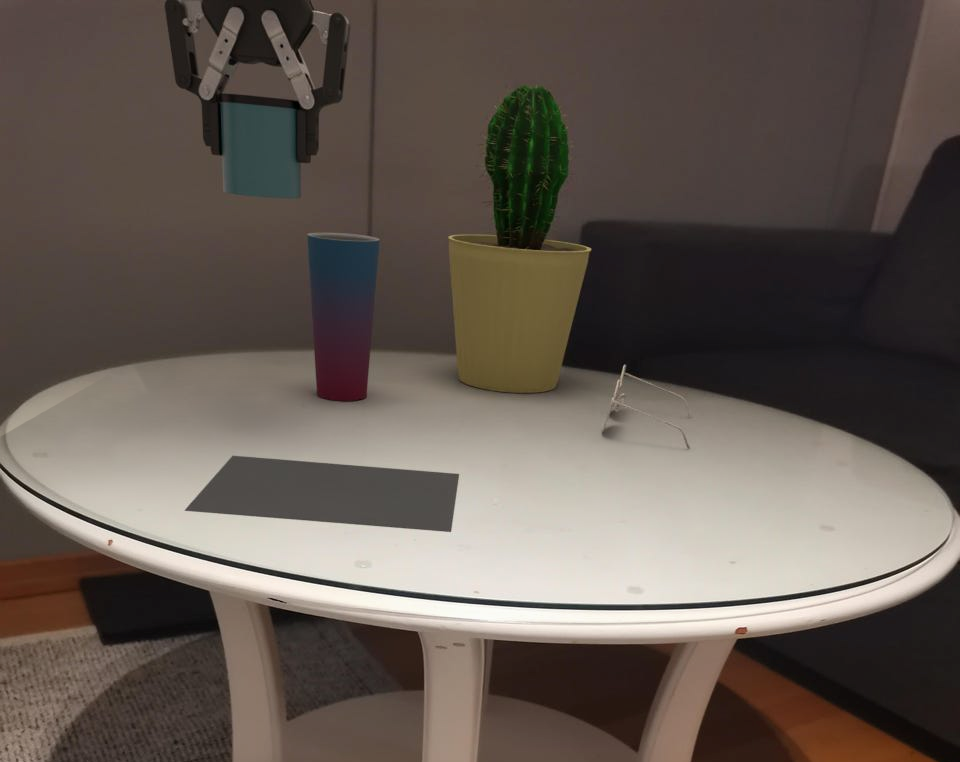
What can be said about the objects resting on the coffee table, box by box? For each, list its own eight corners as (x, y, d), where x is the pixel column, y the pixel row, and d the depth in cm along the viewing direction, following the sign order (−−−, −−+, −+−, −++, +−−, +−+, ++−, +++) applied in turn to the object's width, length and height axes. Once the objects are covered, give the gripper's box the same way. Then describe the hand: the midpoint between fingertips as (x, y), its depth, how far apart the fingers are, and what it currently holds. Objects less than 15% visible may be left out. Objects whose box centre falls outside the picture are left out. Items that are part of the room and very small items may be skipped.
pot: (213, 192, 77) (209, 91, 74) (249, 187, 87) (247, 98, 84) (292, 199, 77) (291, 99, 74) (319, 194, 87) (320, 105, 84)
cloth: (184, 515, 66) (184, 510, 65) (232, 460, 77) (232, 455, 77) (450, 536, 66) (451, 531, 66) (458, 478, 77) (459, 473, 77)
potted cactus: (583, 376, 116) (618, 89, 103) (564, 404, 103) (601, 78, 89) (458, 361, 119) (477, 79, 105) (424, 386, 105) (439, 66, 92)
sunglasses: (611, 406, 104) (625, 360, 101) (687, 429, 103) (703, 382, 101) (598, 439, 91) (614, 387, 89) (685, 464, 91) (703, 413, 88)
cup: (318, 404, 95) (318, 239, 88) (300, 387, 100) (299, 231, 94) (384, 402, 98) (389, 242, 91) (363, 386, 103) (366, 234, 96)
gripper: (362, -76, 74) (357, 166, 82) (175, -94, 74) (186, 151, 82) (346, -99, 68) (342, 168, 75) (140, -118, 68) (156, 150, 75)
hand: (261, 158), depth 79 cm, fingers closed on pot, 6 cm apart
